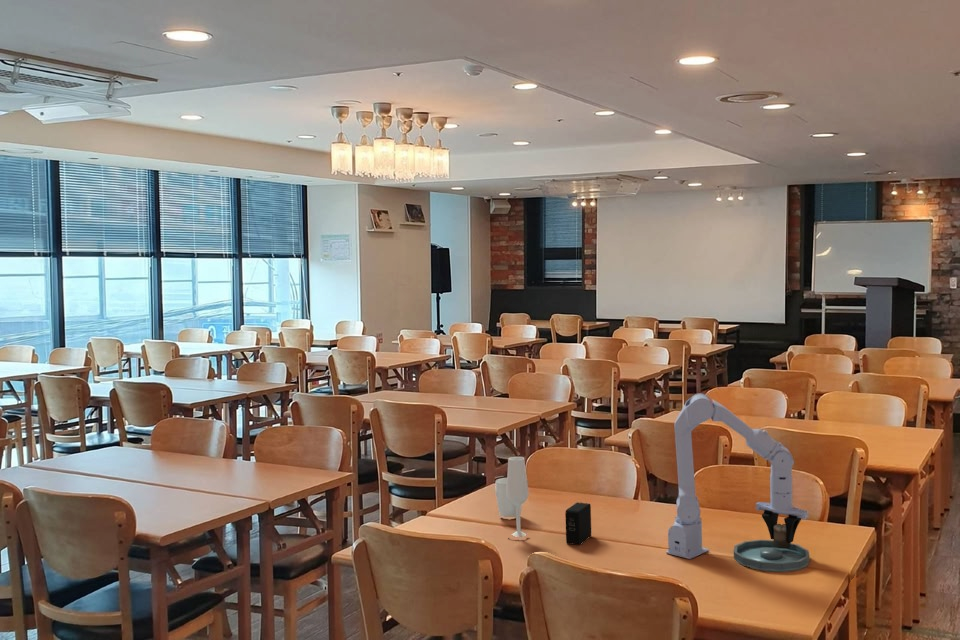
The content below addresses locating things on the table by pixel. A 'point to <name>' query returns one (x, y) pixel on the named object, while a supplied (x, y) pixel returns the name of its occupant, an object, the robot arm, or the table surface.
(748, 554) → the round groove tray
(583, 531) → the electronic device
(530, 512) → the table surface
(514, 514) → the cup
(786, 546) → the brown ball-rimmed cylinder
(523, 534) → the champagne flute
